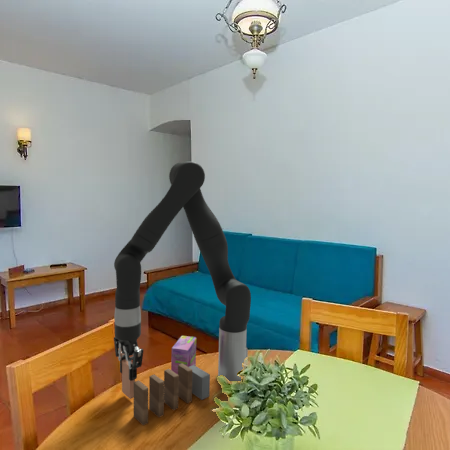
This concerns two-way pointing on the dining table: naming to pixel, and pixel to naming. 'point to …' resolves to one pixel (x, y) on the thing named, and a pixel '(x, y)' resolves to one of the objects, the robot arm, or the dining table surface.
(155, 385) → the domino
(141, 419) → the domino
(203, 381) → the block
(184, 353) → the box
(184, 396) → the domino
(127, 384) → the domino end
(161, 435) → the dining table surface
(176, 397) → the domino
